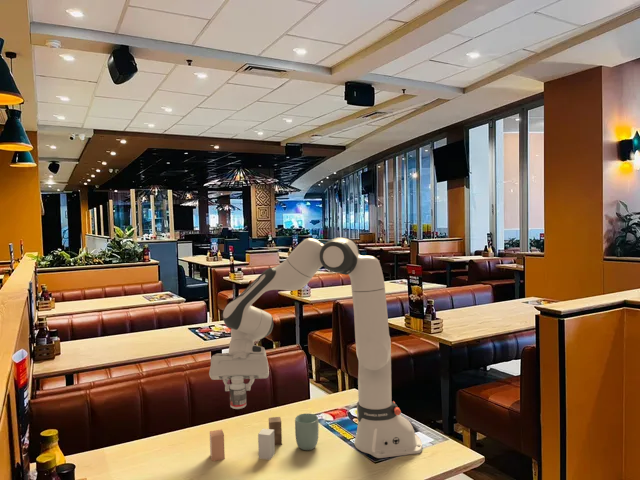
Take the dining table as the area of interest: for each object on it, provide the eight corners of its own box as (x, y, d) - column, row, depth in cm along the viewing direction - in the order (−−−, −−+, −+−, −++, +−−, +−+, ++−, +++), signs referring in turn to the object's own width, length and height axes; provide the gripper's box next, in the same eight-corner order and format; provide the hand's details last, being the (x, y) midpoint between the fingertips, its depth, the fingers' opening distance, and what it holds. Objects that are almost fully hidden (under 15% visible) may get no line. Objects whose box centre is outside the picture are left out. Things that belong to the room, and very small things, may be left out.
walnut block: (280, 439, 165) (280, 416, 164) (281, 444, 161) (281, 421, 160) (269, 440, 164) (268, 417, 163) (270, 445, 160) (269, 422, 159)
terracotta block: (222, 452, 156) (222, 429, 155) (224, 458, 152) (223, 434, 151) (210, 455, 154) (209, 431, 154) (212, 461, 151) (211, 436, 150)
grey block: (274, 453, 155) (274, 429, 154) (270, 459, 151) (269, 435, 150) (263, 452, 156) (262, 428, 155) (258, 458, 152) (258, 433, 151)
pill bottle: (229, 404, 161) (228, 375, 161) (245, 402, 162) (244, 374, 162) (230, 410, 156) (229, 380, 155) (247, 408, 157) (246, 379, 157)
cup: (316, 454, 154) (315, 424, 153) (293, 452, 155) (292, 422, 155) (320, 442, 161) (320, 414, 161) (298, 441, 163) (298, 412, 162)
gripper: (210, 349, 165) (204, 386, 156) (268, 347, 165) (266, 385, 156) (213, 357, 170) (208, 395, 160) (270, 356, 170) (268, 393, 161)
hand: (237, 390), depth 158 cm, fingers closed on pill bottle, 5 cm apart
